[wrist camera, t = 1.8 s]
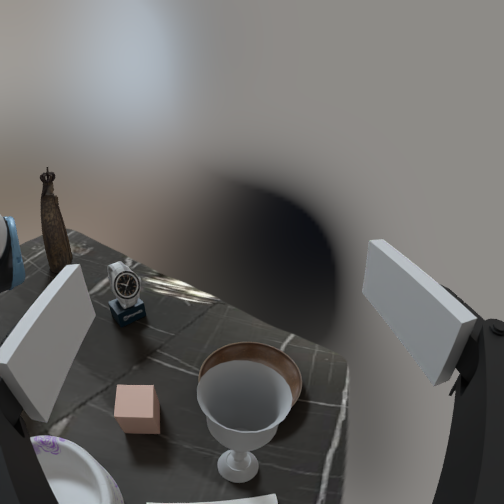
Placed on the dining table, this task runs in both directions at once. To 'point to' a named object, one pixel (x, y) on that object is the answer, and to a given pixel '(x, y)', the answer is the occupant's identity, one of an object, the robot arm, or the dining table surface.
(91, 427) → the dining table surface
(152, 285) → the dining table surface
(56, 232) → the statue
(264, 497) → the board
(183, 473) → the dining table surface
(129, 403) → the terracotta block
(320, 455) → the dining table surface
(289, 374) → the saucer
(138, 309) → the watch
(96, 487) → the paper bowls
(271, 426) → the chalice
